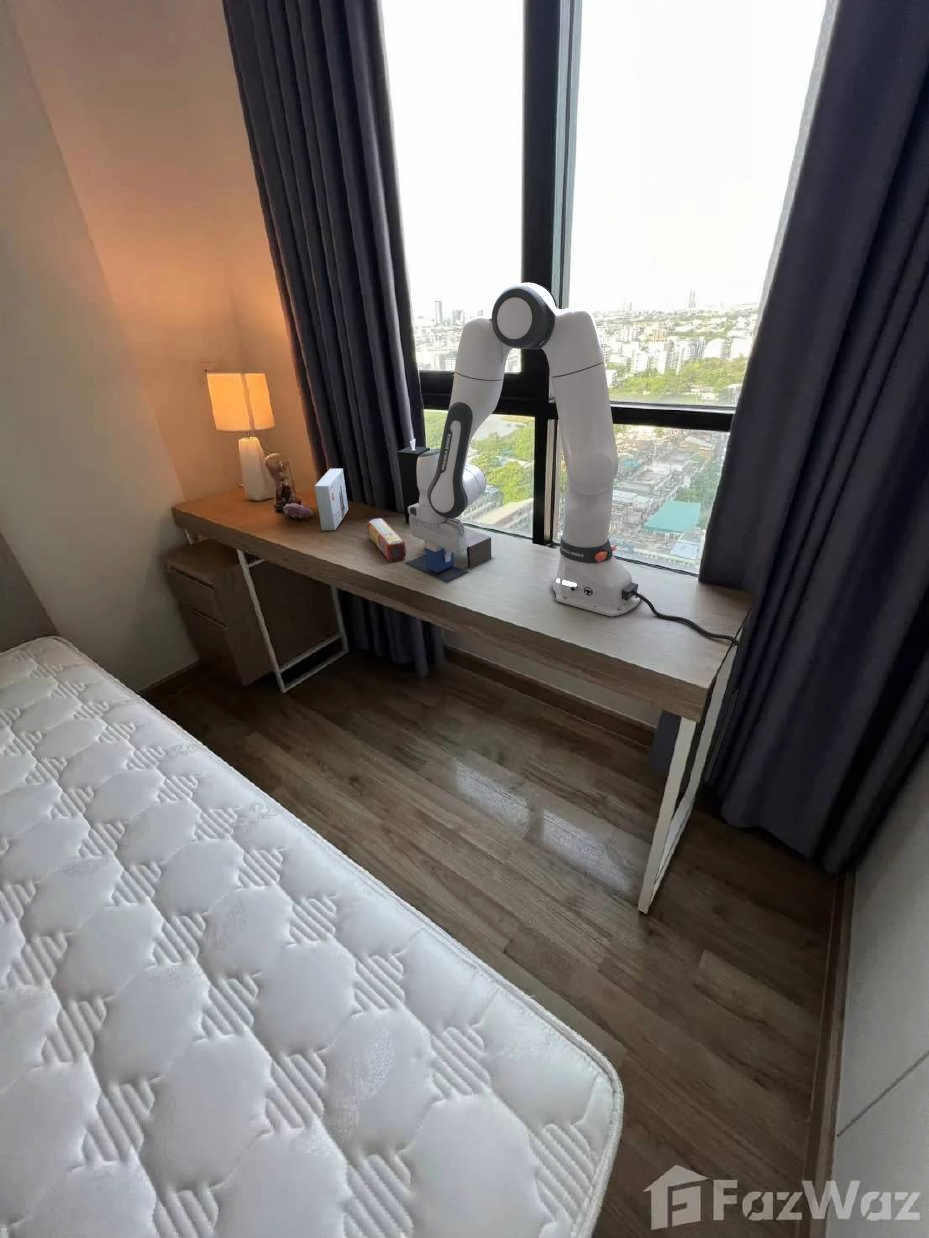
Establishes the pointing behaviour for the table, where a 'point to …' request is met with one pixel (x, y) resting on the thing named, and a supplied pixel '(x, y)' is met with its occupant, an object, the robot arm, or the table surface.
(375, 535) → the snack package
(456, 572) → the felt pad
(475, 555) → the desk shelf
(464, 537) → the robot arm
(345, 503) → the skincare box
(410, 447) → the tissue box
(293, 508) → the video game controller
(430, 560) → the dark blue box
